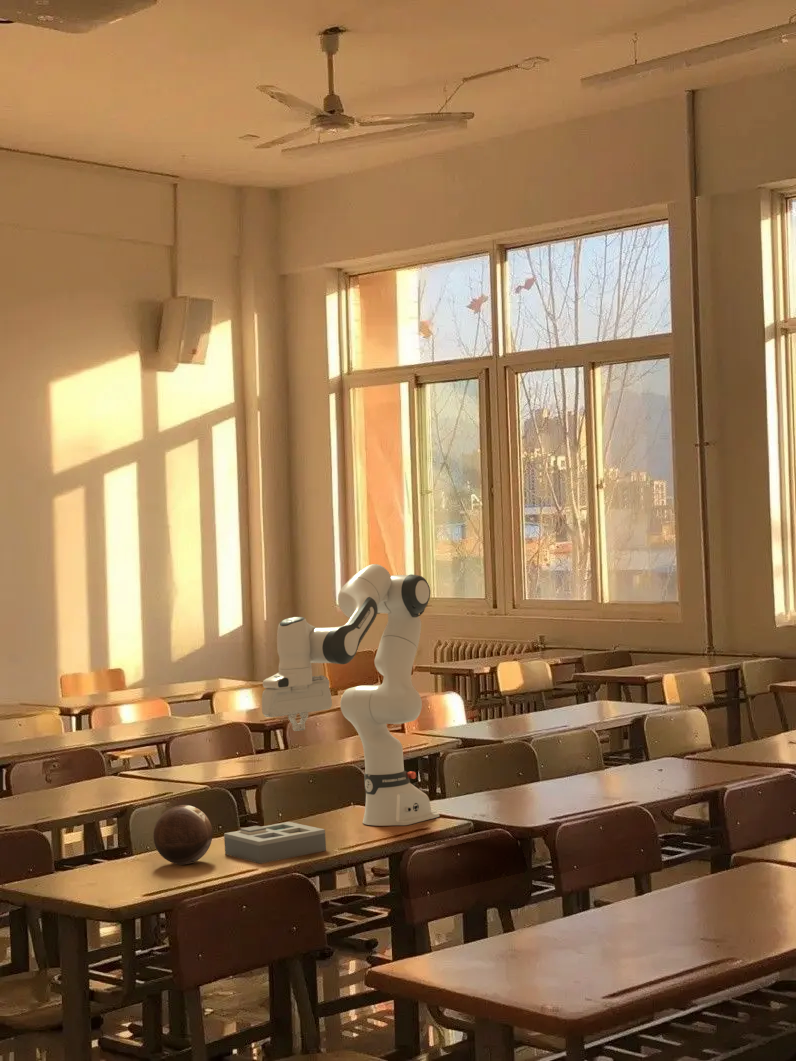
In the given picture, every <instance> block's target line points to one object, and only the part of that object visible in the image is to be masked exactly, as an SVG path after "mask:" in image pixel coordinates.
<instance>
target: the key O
mask: <svg viewBox="0 0 796 1061" xmlns="http://www.w3.org/2000/svg"><path fill="white" fill-rule="evenodd" d="M239 831H240V833H242V834H246V835H253V834H259V833H264V832H266V828H265V827H262V826H260V825H253V826H252V825H251V826H248V827H241V828H240V829H239Z"/></svg>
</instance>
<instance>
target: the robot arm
mask: <svg viewBox="0 0 796 1061" xmlns="http://www.w3.org/2000/svg"><path fill="white" fill-rule="evenodd" d="M430 598H431V588H430V584H429V582H428V581H427V579H426V578H425V577H424V576H422V575H418V574H412V573H411V574H392V575H391V574H390V572H389V570H388V569H387V568H385V567H384V566H383V565H381V564H378V563H373V564H368V565H367V566H364V567H363V568H361V569H359V571H357V572H356V573H355V574H354V575H352V577H350V578H349V580H347V581H346V582H345V584H344V585H342V587H341V588H340V590H339V592H338V596H337V602H338V606H339V609H340V610H341V612H342V613H343V615H345V616H346V618H348V620H347V622H346V623H345V624H344V625H341V626H340V625H339V626H332V627H331V626H329V627H328V626H327V627H316V626H315V625H312V624H310V623H309V622H308V621H307V619H306V617H303V616H293V617H288V618H285V619H283V620H281V621H280V622H279V623H278V626H277V631H276V633H277V635H276V648H277V649H276V650H277V655H278V659H279V663H278V672H276V673H275V674H273V675H272V676H269V677H267V678H265V679H263V681H262V687H263V688H264V690H263V691H262V694H261V712H262V714H263V716H264V717H265V718H274V717H275V718H276V717H284V716H287V719H288V720H289V722H290V723H291V725H292V731H294V732H297V731H298V732H299V731H305V730H306V722H307V720H308V718H309V712H310V713H311V712H312V713H313V712H318V711H319V712H320V711H326V710H330V709H331V708H332V706H333V701H332V700H333V699H332V694H331V689H330V681H329V679H328V677H326V676H325V675H322V674H321V675H316V676H314V675H313V669H312V667H313V666H312V663H313V664H335V665H336V664H337V665H346V664H348V663H350V662H351V661H352V660H353V659H354V658H355V656H356V654H357V652H358V649H359V646H360V645H361V642H362V640H363V639H364V637H365V636H366V634H367V632H369V630H370V628H371V626H372V625H373V623H374V622H375V620H376V617H377V616H378V615H379V614H387V622H386V625H385V627H384V629H383V632H382V635H381V637H380V640H379V644H378V648H377V650H376V654H375V657H374V660H373V662H374V666H375V669H376V671H377V672H378V673H379V674H380V675H381V676H383V677H382V678H383V679H382V683H381V684H378V685H377V684H361V685H357V686H354V687H349V688H346V689H345V691H344V692H343V694H342V695H341V698H340V705H339V706H340V707H339V708H340V711H341V713H342V715H343V717H344V718H345V719H346V720H347V721H348V722H350V723H351V725H352V726H353V727H354V729H355V731H356V732H357V734H358V736H359V738H360V741H361V744H362V749H363V757H364V768H365V770H364V771H365V772H364V773H363V776H364V777H363V778H364V780H363V781H364V790H365V806H364V814H363V819H362V824H364V825H368V826H376V827H377V826H379V827H381V826H383V827H384V826H409V825H412V824H416V823H420V822H421V823H422V822H424V821H427V820H432V819H435V818H439V817H440V813H439V812H438V811H435V810H432V805H431V801H430V798H429V796H428V795H427V794H426V793H425V792H424V791H422V790H420V789H419V788H418V787H416V786H415V785H414V784H412V783H411V780H410V779H413V780H414V779H416V777H417V774H416V771H407V770H405V767H404V766H405V765H404V748H403V745H402V742H401V741H400V739H398V738H397V737H395V736H394V735H392V733H391V732H390V730H389V729H388V725H389V724H390V725H403V724H405V723H407V724H408V723H410V722H414V721H416V720H417V719H418V718H419V717H420V715H421V712H422V709H423V701H422V697H421V695H420V692H419V691H418V690H417V689H416V688H415V687H414V685H413V681H412V670H413V666H414V661H415V658H416V655H417V652H418V648H419V645H420V644H419V643H420V639H421V630H422V620H421V618H420V616H421V615H423V614H424V612H425V610H426V608H427V606H428V604H429V601H430ZM298 714H299V717H300V720H299V722H297V720H296V719H297V717H298V716H297V715H298Z"/></svg>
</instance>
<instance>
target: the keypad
mask: <svg viewBox="0 0 796 1061" xmlns="http://www.w3.org/2000/svg"><path fill="white" fill-rule="evenodd" d="M261 827H265V828H266V832H264V833H259V834H253V835H246V834H242V833H240V830H237V831H230V832H225V833H223V839H224V854H225V855H226V854H228V855H227V856H230V855H231V856H230V857H234V858H238V859H242V860H245V861H250V862H253V863H257V864H264V863H265V864H266V863H270V862H275V861H279V860H285V859H290V858H295V857H301V856H306V855H310V854H316V853H320V852H324V851H327V842H326V829H324V828H321V827H320V828H319V827H315V826H311V825H306V824H300V823H296V822H292V821H286V822H280V823H279V822H278V823H274V824H268V825H263V826H261ZM282 828H283V829H282ZM277 829H280V830H277ZM295 832H300V833H295ZM289 833H294V834H289ZM272 836H274V837H273V838H267V837H272ZM263 838H267V839H263Z"/></svg>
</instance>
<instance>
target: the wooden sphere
mask: <svg viewBox="0 0 796 1061" xmlns="http://www.w3.org/2000/svg"><path fill="white" fill-rule="evenodd" d="M152 837H153V844H154V846H155V848H156V851H157V852H158V854H159V855H160V856H161V857H162V858H163V859H165V860H166V861H167V862H169V863H171V864H174V865H189V864H193V863H195V862H197V861H199V860H200V859H201V858H202V857H204V855H206V853H208V851H209V849H210V847H211V844H212V842H213V841H212V840H213V828H212V824H211V821H210V820H209V817H208V816H207V815H206V814H205V813H204V812H203V811H202V810H200V809H199V808H197V807H195V806H192V805H189V804H180V805H179V804H178V805H175V806H172V807H170V808H169V809H166V811H164V812H163V813H162V814H161V815H160V816H159V817H158V819H157V821H156V823H155V826H154V828H153V836H152Z"/></svg>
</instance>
